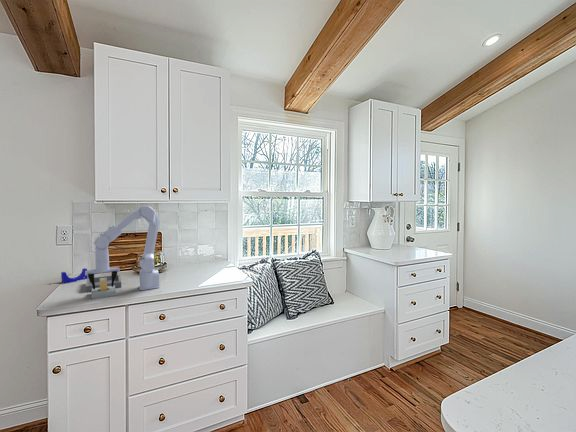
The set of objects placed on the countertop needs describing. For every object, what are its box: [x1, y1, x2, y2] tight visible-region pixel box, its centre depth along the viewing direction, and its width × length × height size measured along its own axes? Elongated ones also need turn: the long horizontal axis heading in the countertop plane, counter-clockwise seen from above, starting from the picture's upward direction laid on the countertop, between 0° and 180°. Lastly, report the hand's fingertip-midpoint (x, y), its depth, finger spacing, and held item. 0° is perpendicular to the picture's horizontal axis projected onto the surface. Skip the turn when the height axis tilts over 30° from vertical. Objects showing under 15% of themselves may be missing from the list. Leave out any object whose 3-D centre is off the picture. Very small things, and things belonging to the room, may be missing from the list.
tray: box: [84, 273, 122, 293], centre depth 165 cm, size 16×18×3 cm
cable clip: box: [60, 267, 88, 285], centre depth 174 cm, size 12×4×6 cm, turn 142°
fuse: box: [100, 278, 107, 291], centre depth 149 cm, size 3×3×8 cm
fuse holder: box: [90, 286, 117, 300], centre depth 149 cm, size 10×10×2 cm
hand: (103, 287), depth 149 cm, fingers open, 7 cm apart
